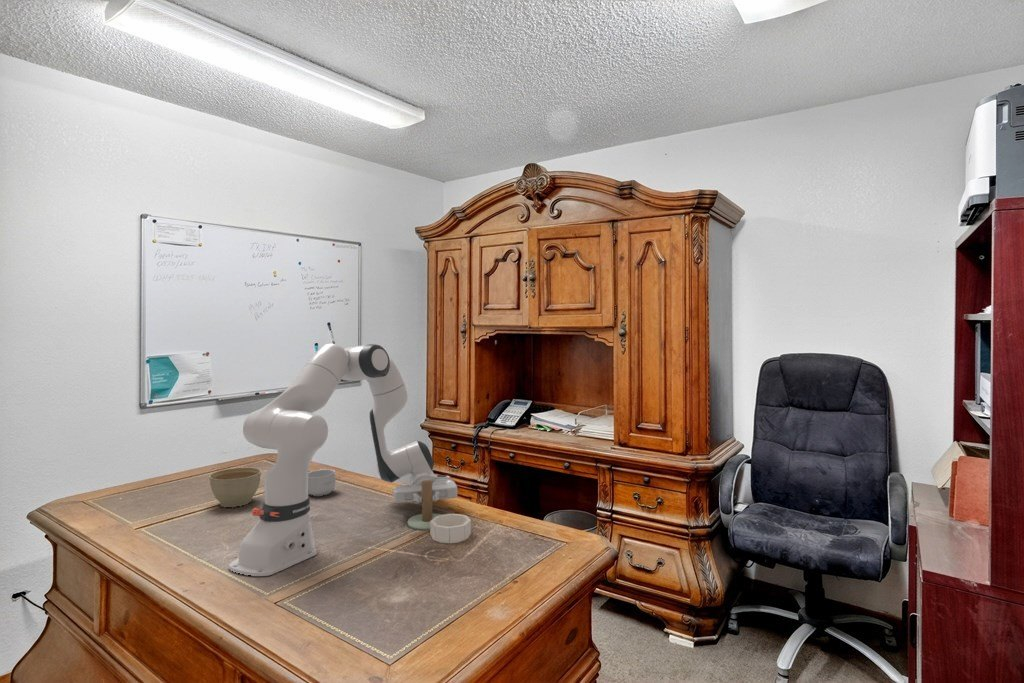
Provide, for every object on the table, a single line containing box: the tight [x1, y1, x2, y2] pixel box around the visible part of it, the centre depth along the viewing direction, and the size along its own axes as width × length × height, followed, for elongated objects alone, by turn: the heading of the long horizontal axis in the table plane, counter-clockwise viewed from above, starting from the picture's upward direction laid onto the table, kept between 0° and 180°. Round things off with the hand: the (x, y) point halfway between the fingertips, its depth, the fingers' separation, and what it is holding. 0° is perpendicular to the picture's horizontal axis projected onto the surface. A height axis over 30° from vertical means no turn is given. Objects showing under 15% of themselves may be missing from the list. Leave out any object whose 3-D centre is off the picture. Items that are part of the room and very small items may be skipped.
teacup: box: [308, 468, 336, 497], centre depth 201 cm, size 14×11×8 cm
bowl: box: [429, 513, 472, 544], centre depth 158 cm, size 11×11×5 cm
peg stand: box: [407, 480, 442, 531], centre depth 168 cm, size 12×12×13 cm
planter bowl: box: [208, 467, 262, 508], centre depth 189 cm, size 16×16×11 cm
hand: (427, 499), depth 167 cm, fingers closed on peg stand, 3 cm apart
